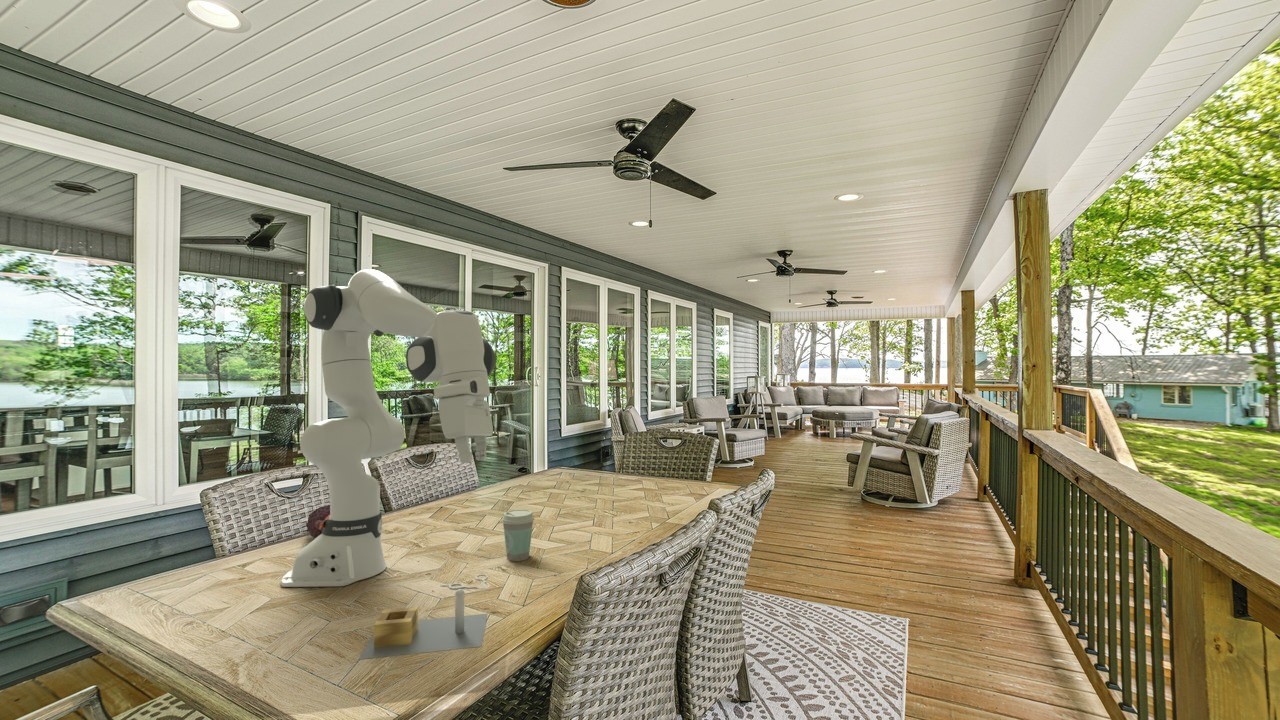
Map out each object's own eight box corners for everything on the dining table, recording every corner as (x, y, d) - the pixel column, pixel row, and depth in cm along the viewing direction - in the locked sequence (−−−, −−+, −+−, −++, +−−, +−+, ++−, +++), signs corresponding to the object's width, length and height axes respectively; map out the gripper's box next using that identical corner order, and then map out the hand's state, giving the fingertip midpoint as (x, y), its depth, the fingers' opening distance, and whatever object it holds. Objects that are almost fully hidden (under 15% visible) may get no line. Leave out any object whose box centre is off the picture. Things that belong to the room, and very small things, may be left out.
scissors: (479, 571, 131) (530, 590, 119) (479, 574, 131) (530, 594, 119) (440, 584, 123) (491, 607, 110) (440, 588, 123) (491, 610, 110)
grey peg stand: (358, 668, 88) (358, 612, 88) (380, 631, 101) (380, 582, 101) (481, 654, 92) (481, 601, 92) (487, 621, 105) (487, 574, 105)
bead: (373, 647, 92) (374, 624, 92) (383, 631, 98) (383, 609, 98) (410, 644, 93) (410, 621, 93) (417, 628, 99) (417, 606, 99)
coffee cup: (504, 552, 146) (504, 509, 146) (535, 551, 146) (535, 508, 147) (499, 563, 137) (499, 517, 137) (532, 562, 138) (532, 516, 138)
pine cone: (297, 536, 161) (297, 504, 162) (332, 529, 169) (332, 498, 169) (317, 548, 150) (318, 513, 150) (354, 540, 157) (355, 506, 158)
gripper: (466, 396, 112) (474, 461, 110) (429, 388, 92) (438, 467, 90) (495, 391, 112) (504, 456, 110) (465, 382, 92) (475, 461, 90)
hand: (474, 461), depth 100 cm, fingers open, 8 cm apart
